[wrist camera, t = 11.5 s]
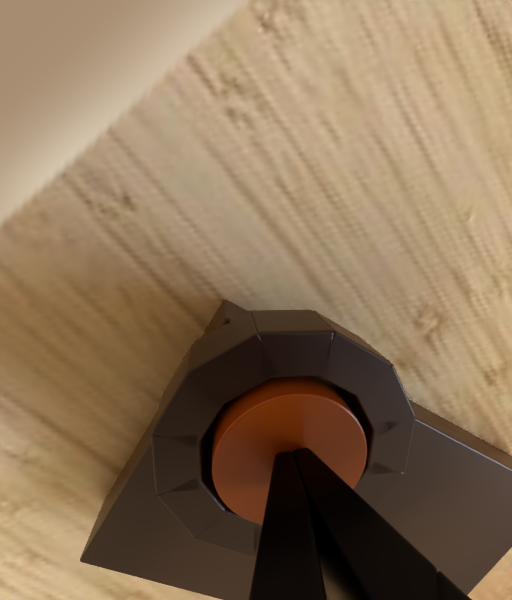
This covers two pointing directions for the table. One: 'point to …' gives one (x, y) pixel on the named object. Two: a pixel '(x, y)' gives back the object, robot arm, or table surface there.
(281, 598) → the robot arm
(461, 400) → the table surface
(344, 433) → the button
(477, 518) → the button block
